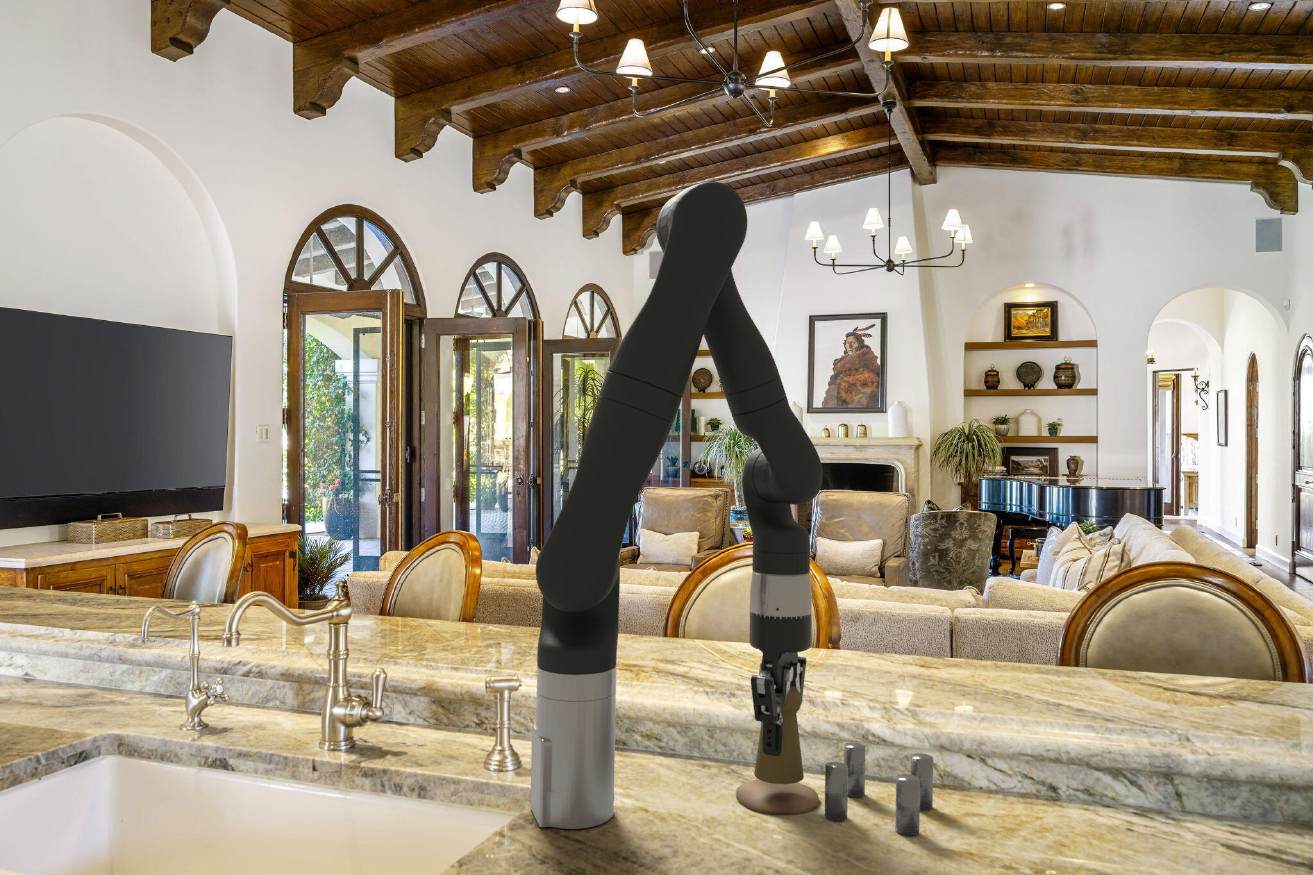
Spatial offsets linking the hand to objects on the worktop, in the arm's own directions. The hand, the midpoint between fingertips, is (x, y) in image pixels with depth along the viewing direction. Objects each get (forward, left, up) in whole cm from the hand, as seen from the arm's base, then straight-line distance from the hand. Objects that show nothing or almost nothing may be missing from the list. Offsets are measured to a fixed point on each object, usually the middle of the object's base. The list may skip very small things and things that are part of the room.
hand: (779, 748), depth 111 cm
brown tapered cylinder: (0, 0, -3) cm, 3 cm away
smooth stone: (0, 0, -6) cm, 6 cm away
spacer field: (+10, -7, -6) cm, 14 cm away
